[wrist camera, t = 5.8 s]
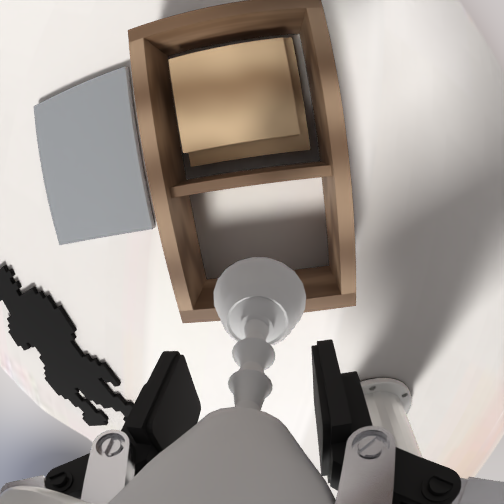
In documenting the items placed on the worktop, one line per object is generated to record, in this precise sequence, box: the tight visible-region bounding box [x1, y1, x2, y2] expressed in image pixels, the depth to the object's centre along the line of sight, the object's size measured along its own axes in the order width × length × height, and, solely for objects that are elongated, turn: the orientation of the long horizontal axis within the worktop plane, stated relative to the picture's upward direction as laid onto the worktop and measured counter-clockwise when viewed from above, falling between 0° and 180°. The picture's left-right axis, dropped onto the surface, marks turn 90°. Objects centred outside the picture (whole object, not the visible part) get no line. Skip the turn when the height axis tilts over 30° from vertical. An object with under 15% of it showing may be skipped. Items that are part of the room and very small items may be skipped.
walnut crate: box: [128, 0, 356, 323], centre depth 24 cm, size 24×14×6 cm, turn 8°
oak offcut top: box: [168, 38, 300, 153], centre depth 22 cm, size 8×9×2 cm
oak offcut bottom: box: [174, 37, 311, 167], centre depth 24 cm, size 10×10×2 cm
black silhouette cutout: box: [0, 265, 134, 426], centre depth 36 cm, size 16×1×30 cm
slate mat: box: [34, 66, 155, 245], centre depth 27 cm, size 16×12×1 cm
